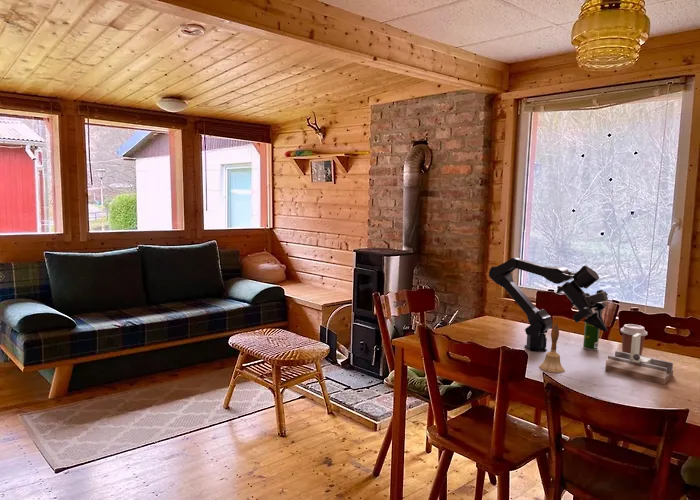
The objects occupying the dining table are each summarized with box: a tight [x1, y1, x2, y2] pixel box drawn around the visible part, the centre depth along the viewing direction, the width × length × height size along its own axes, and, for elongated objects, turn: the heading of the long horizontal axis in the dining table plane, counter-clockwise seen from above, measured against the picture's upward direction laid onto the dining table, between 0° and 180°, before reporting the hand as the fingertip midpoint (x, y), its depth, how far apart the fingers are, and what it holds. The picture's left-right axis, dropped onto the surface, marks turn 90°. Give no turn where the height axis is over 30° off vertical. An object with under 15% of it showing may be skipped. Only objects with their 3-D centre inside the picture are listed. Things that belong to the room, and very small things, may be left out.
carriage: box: [630, 333, 651, 364], centre depth 177 cm, size 5×9×11 cm, turn 136°
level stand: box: [604, 350, 674, 385], centre depth 179 cm, size 18×12×5 cm, turn 46°
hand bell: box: [538, 323, 565, 374], centre depth 180 cm, size 8×8×16 cm
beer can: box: [582, 322, 600, 351], centre depth 206 cm, size 5×5×12 cm
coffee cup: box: [620, 323, 648, 356], centre depth 196 cm, size 9×9×12 cm
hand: (606, 331), depth 186 cm, fingers closed
